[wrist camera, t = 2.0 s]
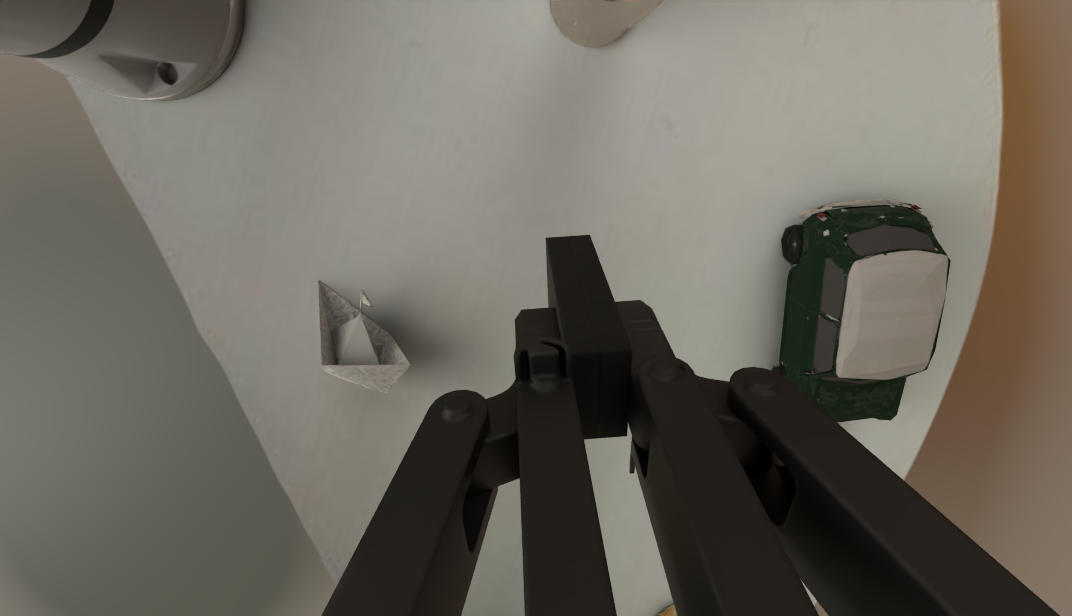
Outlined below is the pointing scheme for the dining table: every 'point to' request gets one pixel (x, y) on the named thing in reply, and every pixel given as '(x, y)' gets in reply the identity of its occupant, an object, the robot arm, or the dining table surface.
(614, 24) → the silver metal tumbler
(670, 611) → the pastry
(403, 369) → the paper boat
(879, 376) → the miniature car
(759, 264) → the dining table surface
